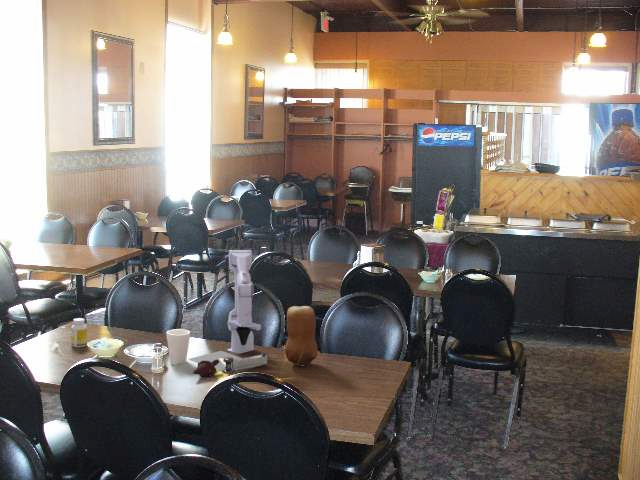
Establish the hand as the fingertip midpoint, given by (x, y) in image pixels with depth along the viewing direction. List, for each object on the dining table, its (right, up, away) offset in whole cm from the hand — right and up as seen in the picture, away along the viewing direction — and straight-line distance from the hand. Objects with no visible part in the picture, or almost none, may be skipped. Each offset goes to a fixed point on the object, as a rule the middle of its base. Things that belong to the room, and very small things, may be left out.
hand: (243, 344), depth 319 cm
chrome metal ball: (-5, -10, -11) cm, 16 cm away
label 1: (-8, -7, +1) cm, 10 cm away
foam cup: (-27, -8, -1) cm, 28 cm away
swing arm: (+1, -8, -7) cm, 11 cm away
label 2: (-5, -8, -4) cm, 10 cm away
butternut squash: (+23, -9, +2) cm, 25 cm away
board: (-8, -8, 0) cm, 11 cm away
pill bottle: (-73, -3, +17) cm, 75 cm away
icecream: (-13, -11, -17) cm, 24 cm away
